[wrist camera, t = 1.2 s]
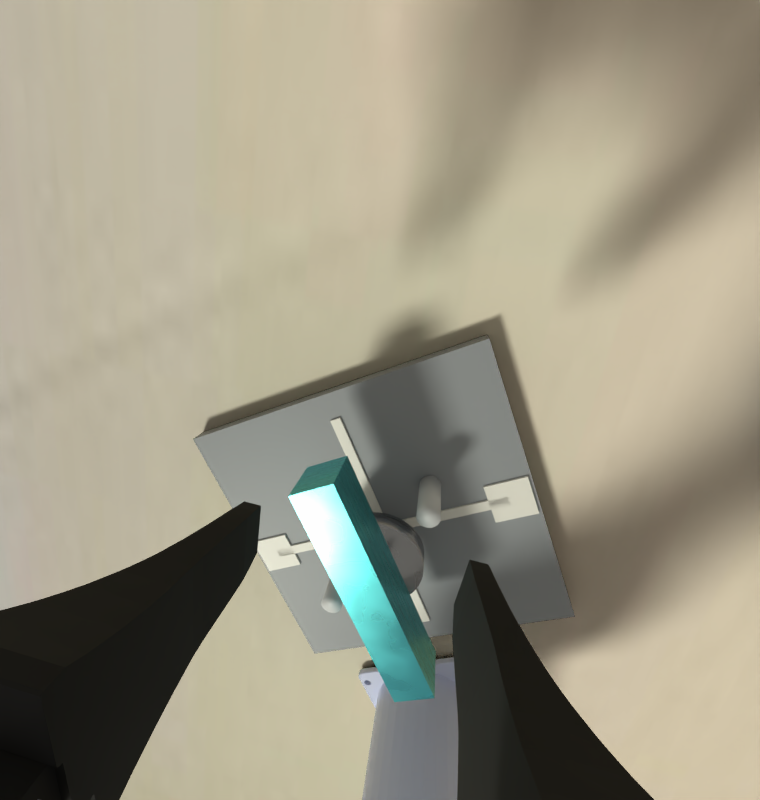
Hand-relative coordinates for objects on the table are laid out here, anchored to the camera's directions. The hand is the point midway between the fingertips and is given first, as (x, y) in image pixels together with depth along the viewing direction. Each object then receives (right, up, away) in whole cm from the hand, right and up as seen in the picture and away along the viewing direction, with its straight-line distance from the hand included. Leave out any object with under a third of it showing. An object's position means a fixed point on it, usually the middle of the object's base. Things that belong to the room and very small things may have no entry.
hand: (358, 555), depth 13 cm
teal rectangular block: (+1, -3, +9) cm, 9 cm away
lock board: (+1, -2, +11) cm, 12 cm away
